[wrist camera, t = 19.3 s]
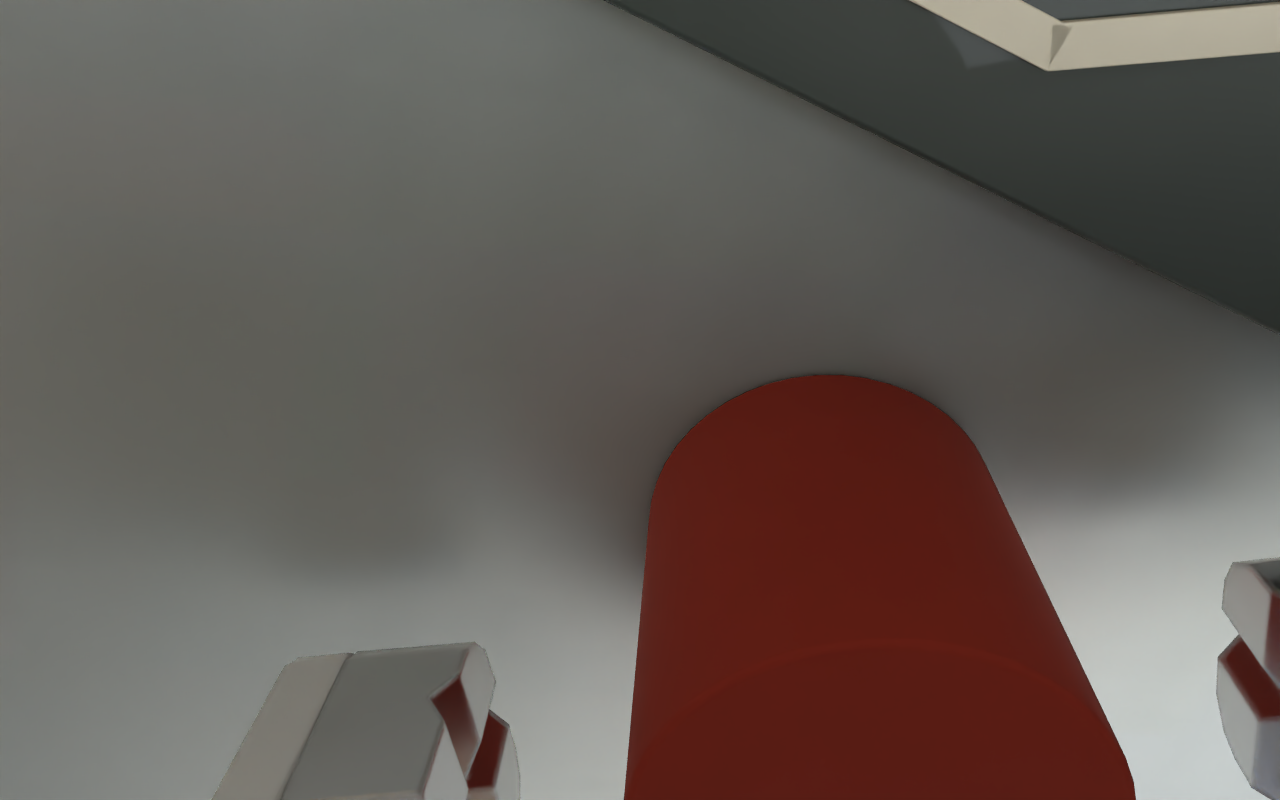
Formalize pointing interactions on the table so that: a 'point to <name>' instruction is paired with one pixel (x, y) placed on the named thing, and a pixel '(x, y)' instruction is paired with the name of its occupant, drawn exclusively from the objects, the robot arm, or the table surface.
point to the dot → (851, 617)
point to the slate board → (1054, 111)
